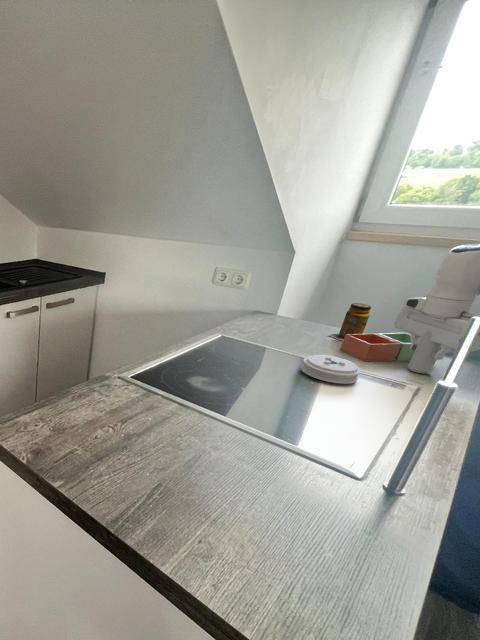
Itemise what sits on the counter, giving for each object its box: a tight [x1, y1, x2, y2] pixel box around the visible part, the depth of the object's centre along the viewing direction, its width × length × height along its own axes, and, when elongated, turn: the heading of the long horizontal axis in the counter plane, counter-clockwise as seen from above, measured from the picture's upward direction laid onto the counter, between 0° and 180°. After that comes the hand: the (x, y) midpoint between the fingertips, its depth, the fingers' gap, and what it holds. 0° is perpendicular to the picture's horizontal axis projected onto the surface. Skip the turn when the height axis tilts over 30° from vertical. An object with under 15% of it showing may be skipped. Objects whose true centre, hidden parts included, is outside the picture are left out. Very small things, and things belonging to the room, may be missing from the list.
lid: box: [300, 354, 362, 384], centre depth 109 cm, size 13×13×5 cm
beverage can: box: [407, 331, 442, 375], centre depth 109 cm, size 5×5×12 cm
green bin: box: [376, 332, 415, 362], centre depth 122 cm, size 9×9×6 cm
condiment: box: [328, 302, 372, 342], centre depth 134 cm, size 7×8×12 cm
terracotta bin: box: [339, 332, 401, 362], centre depth 122 cm, size 9×9×6 cm
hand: (425, 354), depth 110 cm, fingers closed on beverage can, 5 cm apart
